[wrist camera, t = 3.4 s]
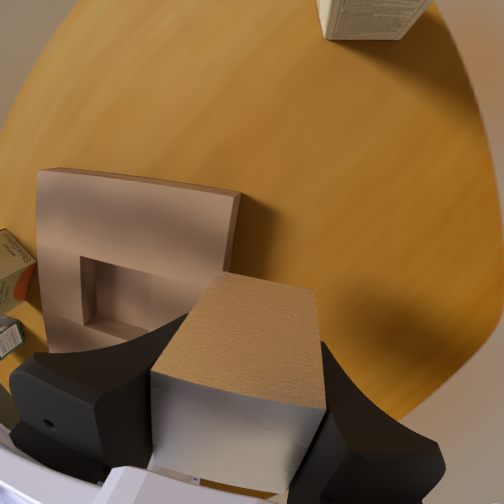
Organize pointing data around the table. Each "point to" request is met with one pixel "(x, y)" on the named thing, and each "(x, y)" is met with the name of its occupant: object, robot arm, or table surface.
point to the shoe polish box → (13, 272)
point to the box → (369, 18)
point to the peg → (240, 385)
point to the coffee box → (9, 336)
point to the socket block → (125, 253)
